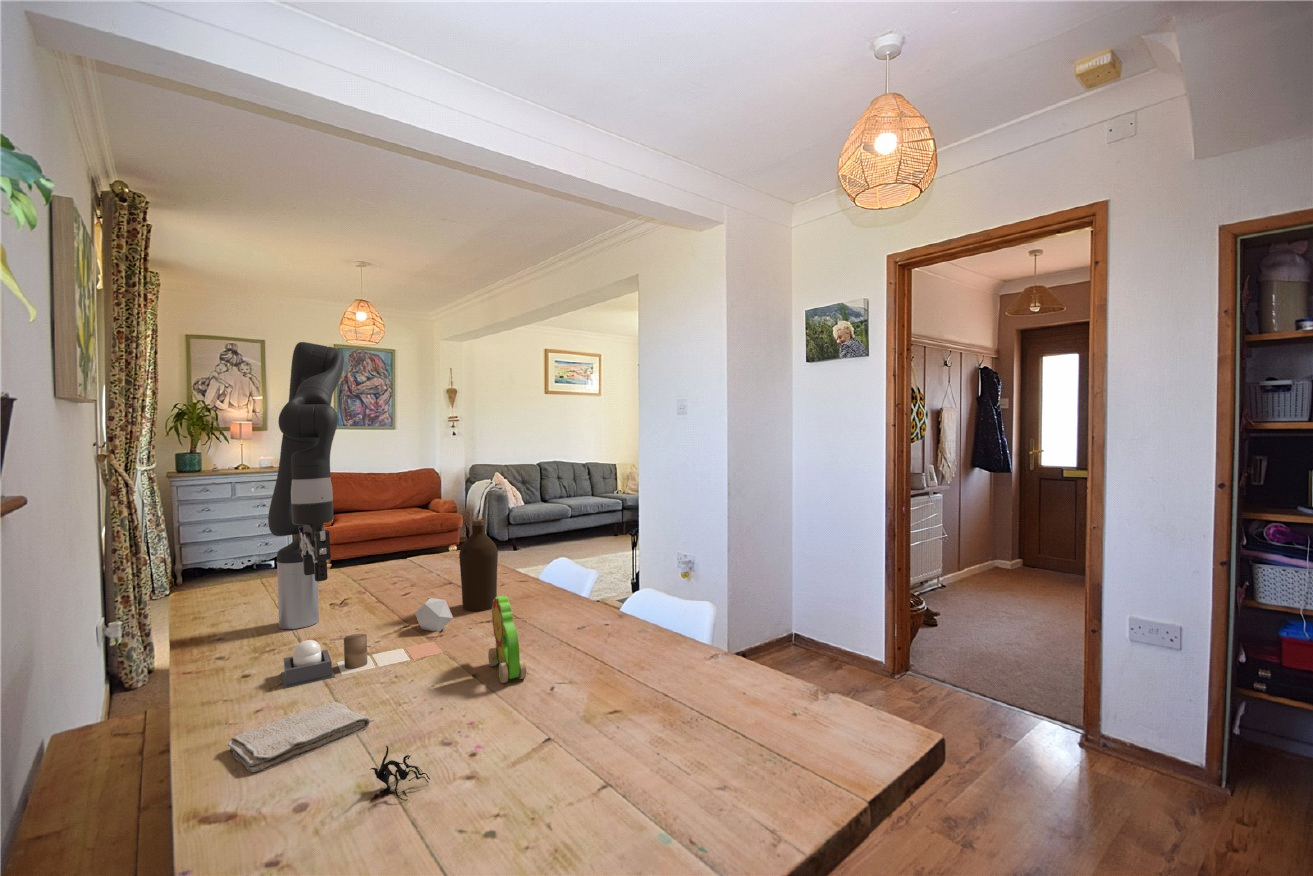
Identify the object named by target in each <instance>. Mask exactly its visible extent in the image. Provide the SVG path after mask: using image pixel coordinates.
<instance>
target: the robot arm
mask: <svg viewBox="0 0 1313 876" xmlns="http://www.w3.org/2000/svg"><path fill="white" fill-rule="evenodd" d="M344 360H345V358H344V354H343V351H342V350H340V349H338V348H336V347H334V346H333V347H332V346H328V345H322V344H317V343H311V342H306V341H300V342H297V344H296V345H295V347H294V349H293V352H292V357H291V369H290V380H289V394H288V402H287V403H286V404H285V405H284V406H283V407H282V409H281V411H280V412H279V417H278V421H277V422H278V428H279V430H280V432H281V433H282V438H281V444H280V455H279V462H278V469H277V474H276V475H277V476H276V481H275V486H274V489H273V493H272V496H271V500H270V504H269V510H268V515H267V516H268V517H267V520H268V521H267V523H268V528H269V531H270V533H271V534H272V535H273V536H275V537H285V536H292V535H297V536H296V538H294V540H293V541H292V542H291V543H290V544H287V545H286V546H283V547H282V548H280V549H279V550H278V551H277V552H276V565H277V566H276V567H277V600H278V602H277V604H278V628H279V629H282V630H295V629H296V630H297V629H301V628H307V627H310V626H313V625H315V624H317V623H319V622H320V604H319V603H320V602H319V601H320V600H319V599H320V598H319V582H323V581H327V580H328V577H329V576H328V562H329V560H331V558H332V555H331V538H330V535H331V533H330V530H329V529H325V527H324V524H325V523H330V522H333V520H334V498H333V497H334V495H333V493H334V492H333V484H332V481H331V480H332V479H331V450H332V445H333V441H334V438H335V434H336V431H337V427H338V423H339V418H338V417H339V416H338V412H337V411H336V408H334V407H333V406H332V400H333V394H334V392H335V391H336V389H337V387H338V385H339V383H340V380H341V379H342V375H343V371H344V366H345V365H344V364H345V363H344V362H345V361H344Z"/></svg>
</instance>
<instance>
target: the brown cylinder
mask: <svg viewBox="0 0 1313 876" xmlns="http://www.w3.org/2000/svg"><path fill="white" fill-rule="evenodd" d="M367 635H368V634H366V633H354V634H350V635H347V636H345V637H344V638H343V652H344V654H343V656H344V657H343V658H344V660H343V661H344V664H345V668H347V669H355V668H360V667H363V666H365V665H366V664H367V656H368V640H367V639H368V637H367Z"/></svg>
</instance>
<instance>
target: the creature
mask: <svg viewBox="0 0 1313 876" xmlns="http://www.w3.org/2000/svg"><path fill="white" fill-rule="evenodd" d="M385 748H386V751H385V755H384V757H383V759H382V761H381V765H380V766H379V767H380V768H379V769H378V768H376V767H371V768H370V770H373V771H374V774H375V778H376V779H378V780H379V781H381V782H382V783H384V784H385V785H386V790H387V794H389V795H390V794H395V796H396V797H397V798H398V799H400V800H401V801H408V800H409V799H408V798H409V796H408V795H407V794H406V792H405V790H402V791H400V792H398V791H397V790H398V789H397V788H398V785H399V781H401V780H402V781H405V780H406V779H407V780H408V782H411V780H413V779H414V778H416V779H415V780H420V779H425V781H426V783H428V784H429V783H430V782H429V781H431V778H430V777H429V775H428V774H427V773H426V772H423V770H422V769H421V768H420V766H419V767H418V766H416V765H412V764H411V765H410V764H408V762H407V761H409V760H410V758H411V756H412V754H410V755H409V754H407V755H405V756H403V759H402V762H399V761H396V760H392V759H390V760H389V761H386V760H387V757H388V755H389V746H388V745H386V747H385ZM403 764H404V766H405V769H403V768H402V766H401V765H403ZM389 766H393V767H395V768H396V770H395V772H394V773H393V772H392V770H391V769H390V767H389ZM407 769H408V771H407ZM414 769H415V770H414ZM420 771H421V772H420ZM410 772H413V773H414V775H415V776H413V777H412V778H411V779H408V776H409V774H410ZM423 775H425V776H426V777H425V776H423ZM391 776H393V777H394V780H395V782H396V783H395V787H394V791H390V790H391V789H390V786H389V781H390V777H391ZM400 793H401V794H402V793H404V795H405V796H406V797H407V798H406V799H404V798H402V797H400V796H399V794H400Z"/></svg>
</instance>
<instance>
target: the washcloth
mask: <svg viewBox="0 0 1313 876" xmlns="http://www.w3.org/2000/svg"><path fill="white" fill-rule="evenodd" d="M370 723H371V721H370V719H369V718H368V717H367V716H365V715H362V714H360V713H358V712H355V711H352V710H351V709H350V708H349V707H347V706H345V705H344V704H342V703H340V702H338V701H334V702H329V703H326V704H322V705H321V706H318V707H315V708H311V709H309V710H305V711H302V712H298V713H296V714H293V715H290V716H288V717H284V718H282V719H279V720H275V721H274V722H271V723H269V724H268V723H267V724H265V725H263V726H259V727H257V728H253V729H250V730H246V731H244V732H241V733H239V734H236V735H235V736H232V737H231V739H230V741H229V742H228V744H227V747H229V750H230V751H232V756H233V757H234V758H235V759H236V761H238V762H239V763H241V764H242V765H243V766H244V768H246V769H247V770H248V771H250V773H257V772H261V771H265V770H268V769H269V770H270V769H271V768H274V767H277V766H280V765H282V764H283V765H284V764H285V763H288V762H290V761H292V760H295V759H297V758H300V757H302V756H304V755H308V754H309V753H312V752H315V751H317V750H320V749H322V748H324V747H325V748H326V747H327V746H328V745H332V744H334V743H336V742H339V741H341V740H344V739H346V738H349V737H351V736H353V735H356V734H359V733H361V732H363V731H364V730H366V729H367V728H369V725H370Z"/></svg>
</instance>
